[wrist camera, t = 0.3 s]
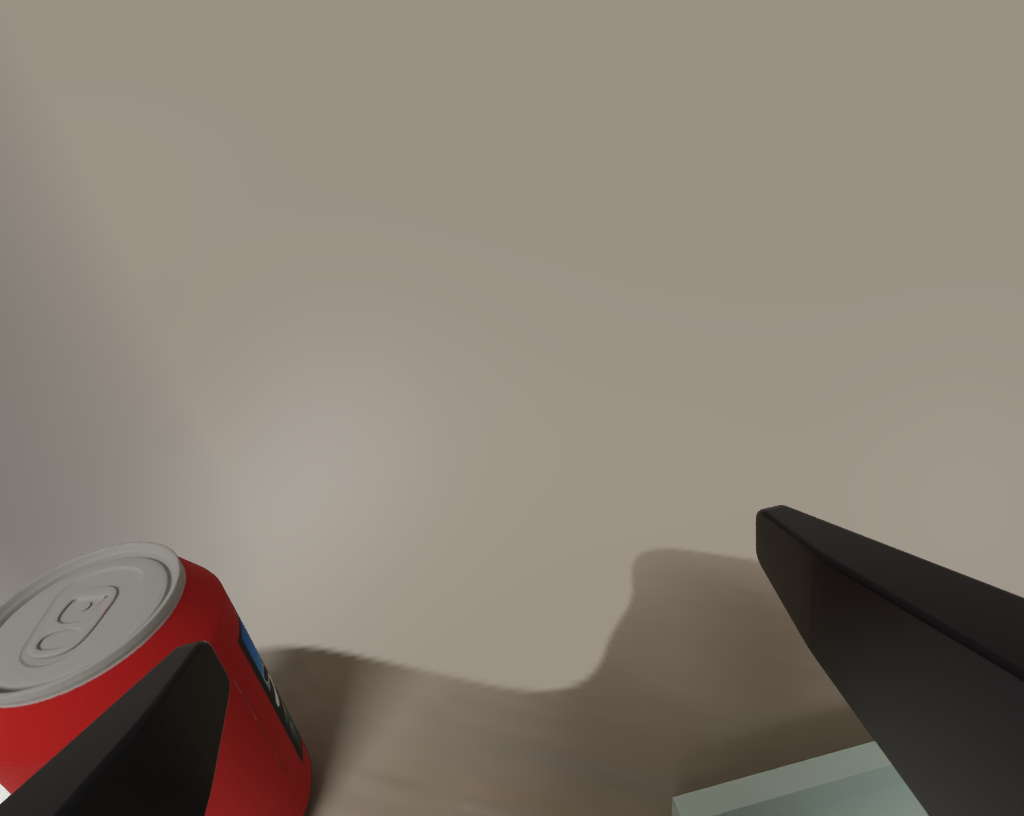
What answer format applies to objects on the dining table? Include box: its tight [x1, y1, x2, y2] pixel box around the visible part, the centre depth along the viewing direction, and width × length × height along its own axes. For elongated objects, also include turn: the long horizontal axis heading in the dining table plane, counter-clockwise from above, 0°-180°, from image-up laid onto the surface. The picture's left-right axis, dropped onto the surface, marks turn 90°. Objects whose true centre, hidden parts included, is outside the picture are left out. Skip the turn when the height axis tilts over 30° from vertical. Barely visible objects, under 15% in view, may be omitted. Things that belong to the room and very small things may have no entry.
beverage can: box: [0, 542, 311, 816], centre depth 18 cm, size 7×7×12 cm
